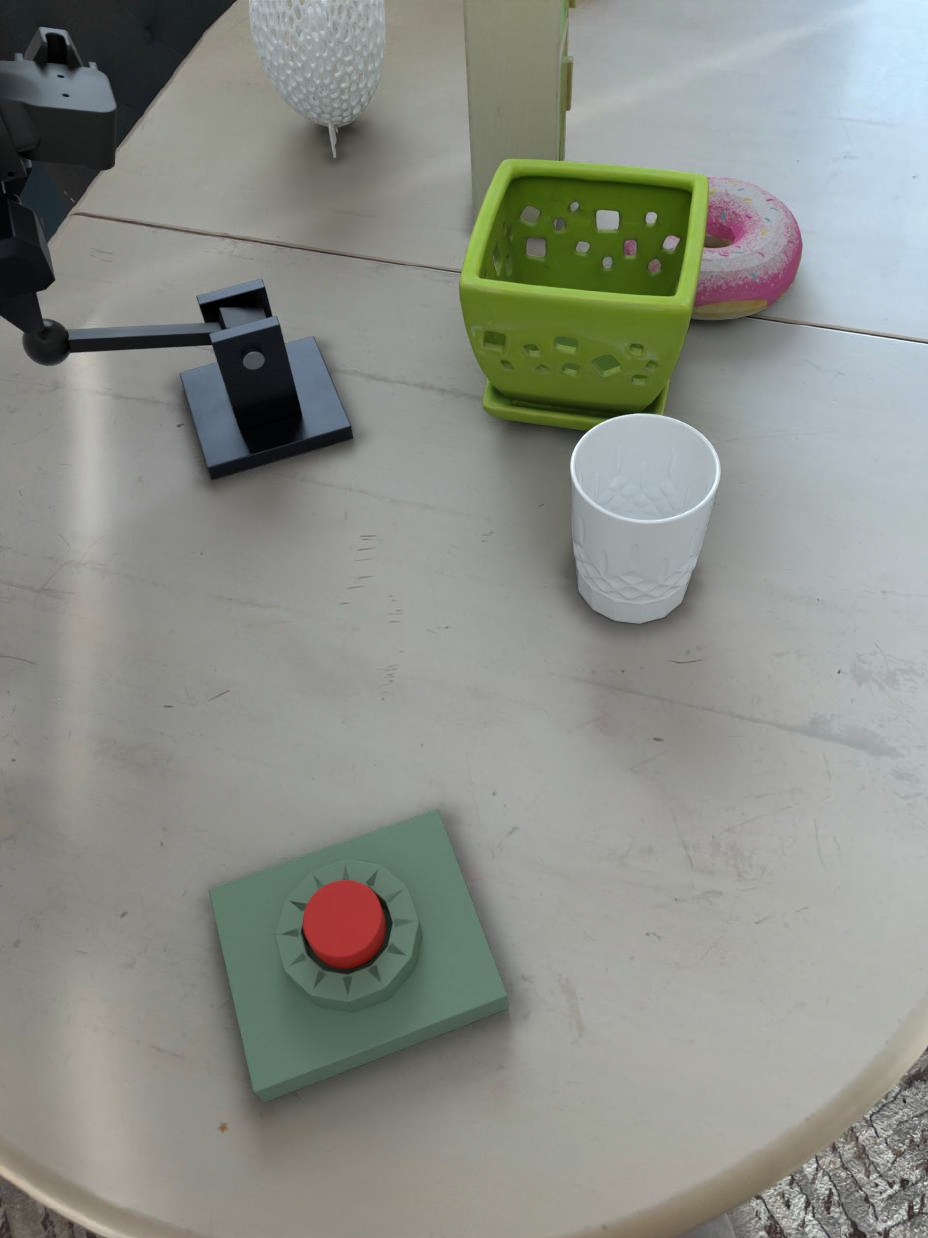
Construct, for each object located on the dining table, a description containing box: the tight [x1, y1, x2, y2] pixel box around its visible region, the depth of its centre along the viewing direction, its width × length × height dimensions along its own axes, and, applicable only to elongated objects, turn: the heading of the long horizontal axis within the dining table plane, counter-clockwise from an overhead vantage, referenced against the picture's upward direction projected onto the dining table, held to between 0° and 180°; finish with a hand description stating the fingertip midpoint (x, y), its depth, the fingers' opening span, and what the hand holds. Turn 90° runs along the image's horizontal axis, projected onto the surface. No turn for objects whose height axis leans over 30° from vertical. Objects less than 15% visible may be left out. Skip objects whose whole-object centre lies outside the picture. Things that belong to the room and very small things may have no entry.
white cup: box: [569, 414, 722, 625], centre depth 60 cm, size 8×8×10 cm
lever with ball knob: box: [21, 306, 266, 367], centre depth 67 cm, size 15×3×3 cm, turn 110°
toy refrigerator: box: [462, 0, 578, 230], centre depth 78 cm, size 8×7×21 cm
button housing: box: [208, 808, 509, 1103], centre depth 51 cm, size 12×10×4 cm
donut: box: [624, 176, 803, 321], centre depth 78 cm, size 14×13×5 cm
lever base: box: [178, 278, 354, 481], centre depth 71 cm, size 10×10×9 cm
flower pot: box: [458, 159, 709, 432], centre depth 69 cm, size 14×14×13 cm
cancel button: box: [303, 880, 386, 969], centre depth 48 cm, size 4×4×2 cm
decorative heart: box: [248, 0, 387, 159], centre depth 88 cm, size 18×11×17 cm, turn 179°
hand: (32, 310), depth 63 cm, fingers open, 4 cm apart
